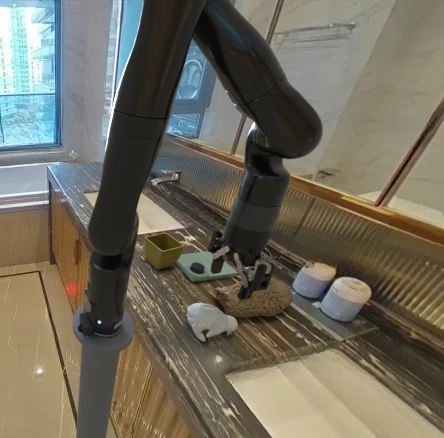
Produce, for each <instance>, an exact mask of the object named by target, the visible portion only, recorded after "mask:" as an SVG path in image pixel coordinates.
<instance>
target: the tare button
mask: <svg viewBox="0 0 444 438" xmlns="http://www.w3.org/2000/svg"><path fill="white" fill-rule="evenodd" d="M190 269H191V271H192V272H194V273H196V274H202V273H203V272H204V269H205V267H204V265H202V264H201V263H197V262H194V263H192V265H191V268H190Z"/></svg>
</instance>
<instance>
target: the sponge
mask: <svg viewBox="0 0 444 438" xmlns="http://www.w3.org/2000/svg"><path fill="white" fill-rule="evenodd" d="M249 281H251V277H250V278H249ZM242 284H243V281H242V280H241V281H238V282H237V283H235V284H233V285H226V286H223V287H219V286H217V287H215V288H214V295H215V298H216V299H217V300H218V302H219V304H220V306H222V307H223V309H224V314H225V315H229V316H232V317H234V318H239V319H242V318H254V317H257V316H258V317H273V316H276V315H277V314H281V313H282V312H283V311H284V310H285V309H287V308H288V307H289V306H290V305H291V304H292V303H293V298H294V297H293V296H294V295H293V291H292V290H291V288H290V286H289V285H288V284H287V283H285V282H283V281H282V280H279V279H276V278H275V277H273V276H272V277H271V280H270V282H269V285H268V288H267V289H266V290H260V291H254V292H253V294H252V297H251V298H250V299H246V300H239V299H238V298H237V296H238V293H239V291H240V288H241V286H242Z"/></svg>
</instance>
